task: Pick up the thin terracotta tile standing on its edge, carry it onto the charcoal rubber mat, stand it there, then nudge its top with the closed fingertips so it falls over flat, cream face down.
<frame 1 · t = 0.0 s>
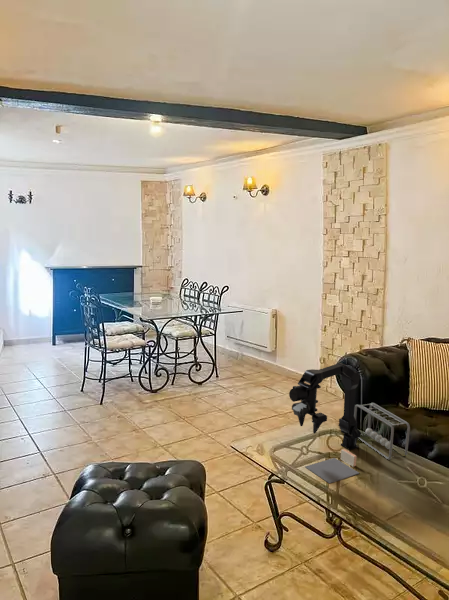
hand: (307, 429, 240), 15 cm above the table, fingers open, 9 cm apart
tile: (348, 462, 240), on the table
newton's cradle: (378, 446, 258), on the table
mat: (331, 470, 232), on the table
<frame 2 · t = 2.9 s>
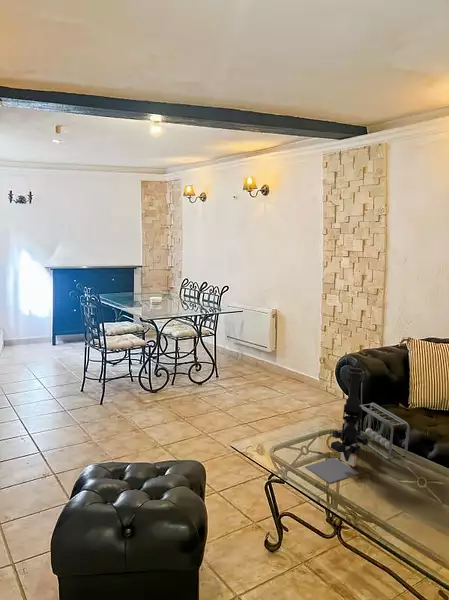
hand: (348, 460, 240), 1 cm above the table, fingers closed on tile, 2 cm apart
tile: (348, 462, 240), on the table, touching gripper
everything else where it was.
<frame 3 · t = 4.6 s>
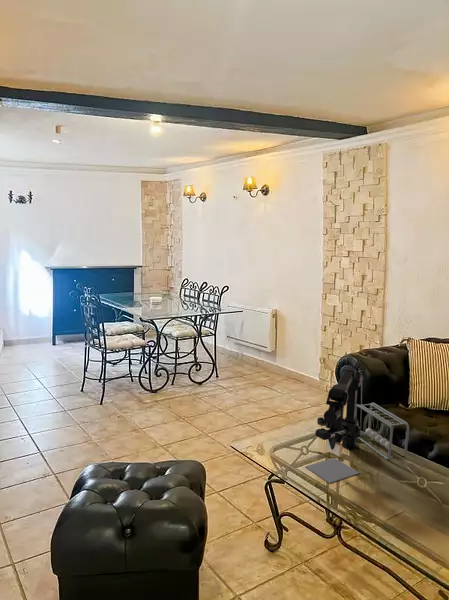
hand: (333, 448, 229), 11 cm above the table, fingers closed on tile
tile: (333, 452, 229), point 10 cm above the table, touching gripper
everything else where it was.
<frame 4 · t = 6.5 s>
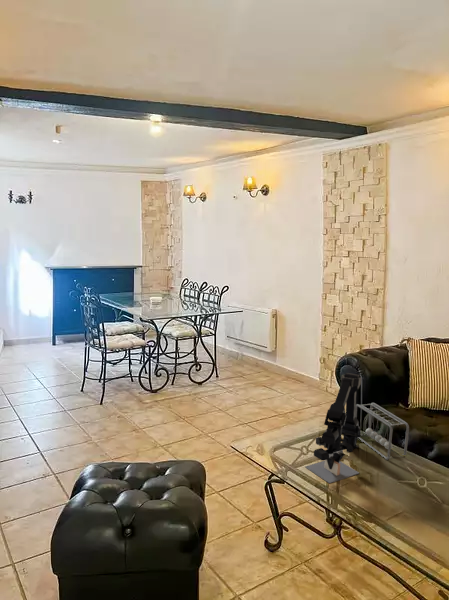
hand: (332, 468, 231), 2 cm above the table, fingers closed
tile: (331, 470, 231), resting on mat
everything else where it was.
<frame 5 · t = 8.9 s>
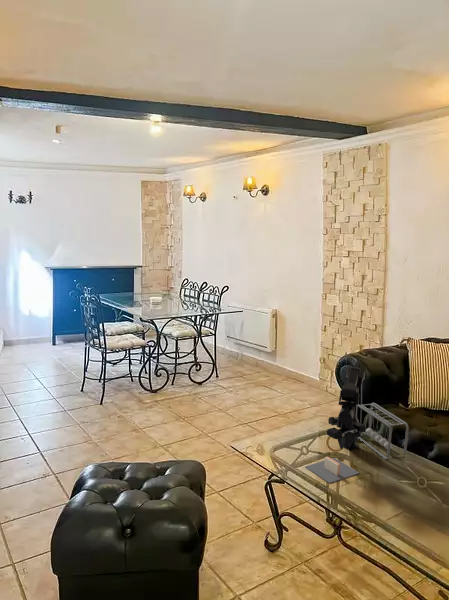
hand: (344, 447, 233), 10 cm above the table, fingers open, 4 cm apart
nothing on the table moved.
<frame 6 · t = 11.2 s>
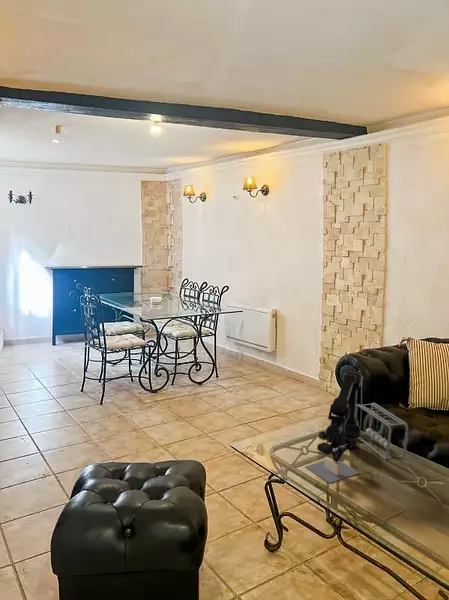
hand: (335, 462, 231), 4 cm above the table, fingers closed
tile: (331, 470, 231), resting on mat, touching gripper
everything else where it was.
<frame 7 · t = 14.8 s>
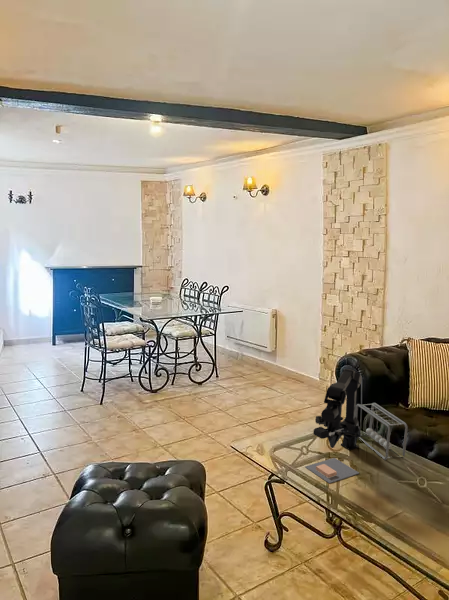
hand: (332, 447, 228), 12 cm above the table, fingers closed
tile: (330, 469, 231), point 1 cm above the table, tilted 90°, touching mat
everything else where it was.
at the end: tile tilted 90°; tile inside the target area (0.3 cm from its centre), point 1.3 cm above the table; the gripper is holding nothing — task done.
